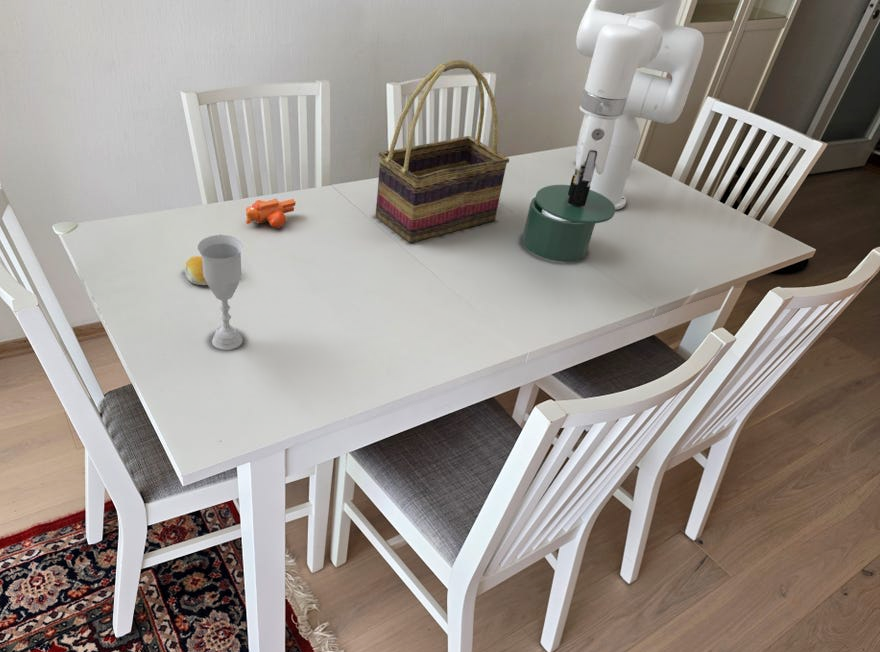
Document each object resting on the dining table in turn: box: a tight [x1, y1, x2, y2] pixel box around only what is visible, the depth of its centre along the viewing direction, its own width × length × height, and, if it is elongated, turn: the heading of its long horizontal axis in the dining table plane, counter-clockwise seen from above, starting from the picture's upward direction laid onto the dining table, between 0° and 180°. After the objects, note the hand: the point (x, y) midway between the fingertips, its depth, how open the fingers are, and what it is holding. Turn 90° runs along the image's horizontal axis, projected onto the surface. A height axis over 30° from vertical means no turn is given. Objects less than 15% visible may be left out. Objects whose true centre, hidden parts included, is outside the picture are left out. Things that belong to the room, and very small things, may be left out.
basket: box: [375, 59, 510, 244], centre depth 147 cm, size 26×15×35 cm, turn 126°
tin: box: [521, 196, 596, 262], centre depth 150 cm, size 14×14×10 cm
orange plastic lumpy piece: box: [245, 198, 297, 229], centre depth 147 cm, size 5×8×12 cm
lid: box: [535, 175, 616, 224], centre depth 129 cm, size 15×15×6 cm
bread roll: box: [183, 255, 208, 286], centre depth 129 cm, size 8×9×4 cm
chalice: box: [197, 234, 244, 351], centre depth 109 cm, size 7×7×18 cm
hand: (576, 199), depth 130 cm, fingers closed on lid, 2 cm apart
